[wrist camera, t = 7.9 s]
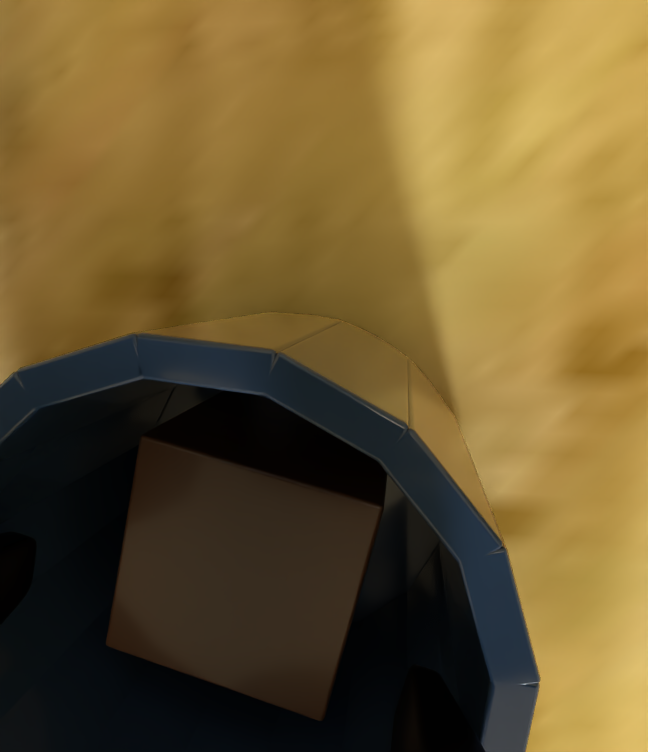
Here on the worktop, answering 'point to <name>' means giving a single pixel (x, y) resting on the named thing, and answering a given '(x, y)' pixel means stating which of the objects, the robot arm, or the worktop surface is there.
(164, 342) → the cup
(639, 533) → the worktop surface
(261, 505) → the brown cube
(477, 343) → the worktop surface
